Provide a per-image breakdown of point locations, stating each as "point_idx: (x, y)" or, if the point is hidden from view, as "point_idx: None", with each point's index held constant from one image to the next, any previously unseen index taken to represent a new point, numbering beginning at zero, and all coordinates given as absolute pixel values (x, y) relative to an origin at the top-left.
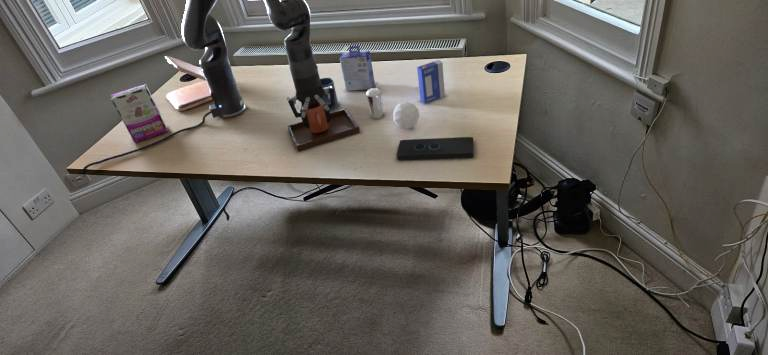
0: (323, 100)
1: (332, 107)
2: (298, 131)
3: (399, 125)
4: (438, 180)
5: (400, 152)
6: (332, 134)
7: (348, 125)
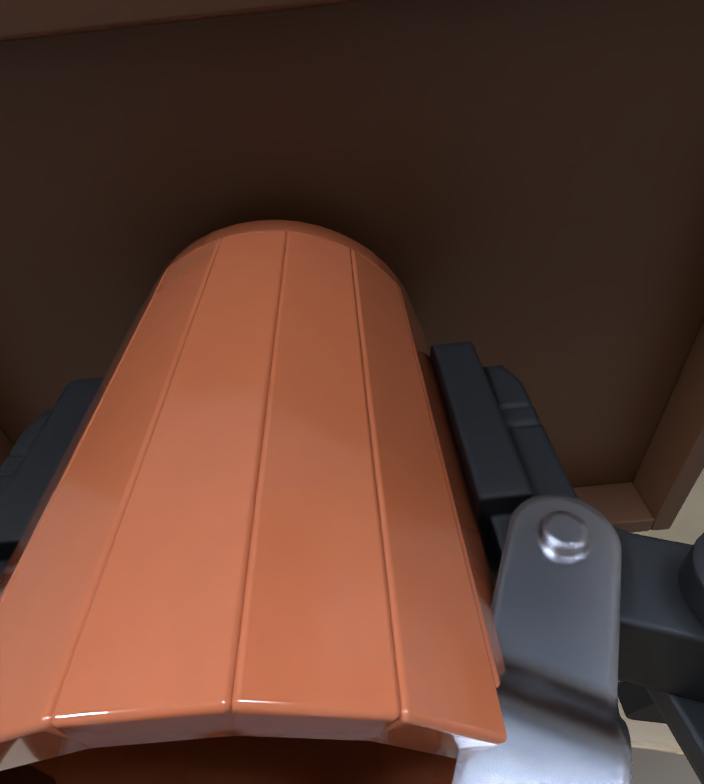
0: (619, 721)
1: None
2: None
3: None
4: (636, 746)
5: (652, 711)
6: None
7: (632, 368)
